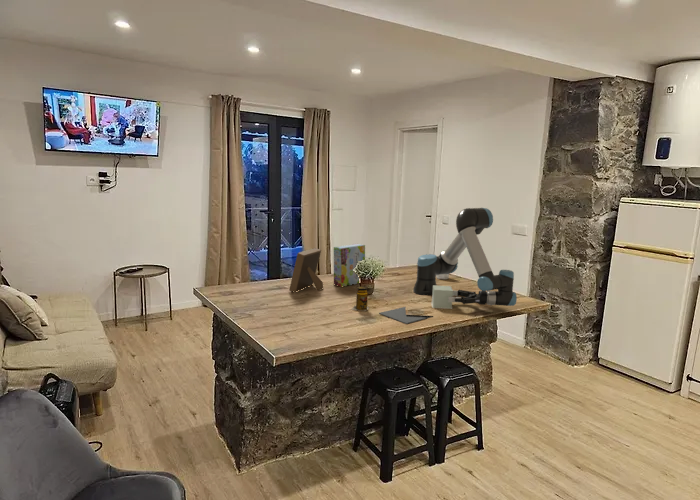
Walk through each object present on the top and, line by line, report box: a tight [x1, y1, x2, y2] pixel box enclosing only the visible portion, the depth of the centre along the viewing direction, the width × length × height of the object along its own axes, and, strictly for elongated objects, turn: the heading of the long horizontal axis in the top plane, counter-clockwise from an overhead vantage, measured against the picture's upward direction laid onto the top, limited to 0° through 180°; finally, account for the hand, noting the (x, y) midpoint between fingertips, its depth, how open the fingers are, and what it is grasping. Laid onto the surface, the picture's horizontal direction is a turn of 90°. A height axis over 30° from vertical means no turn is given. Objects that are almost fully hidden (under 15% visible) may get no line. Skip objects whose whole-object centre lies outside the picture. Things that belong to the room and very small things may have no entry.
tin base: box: [430, 301, 454, 310], centre depth 257 cm, size 11×11×6 cm
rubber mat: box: [378, 306, 434, 325], centre depth 242 cm, size 20×20×1 cm
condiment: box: [350, 286, 370, 312], centre depth 252 cm, size 7×8×12 cm
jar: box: [436, 274, 450, 280], centre depth 329 cm, size 9×8×12 cm
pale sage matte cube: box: [431, 284, 454, 310], centre depth 256 cm, size 10×10×10 cm
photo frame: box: [288, 247, 324, 293], centre depth 287 cm, size 15×22×25 cm
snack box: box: [333, 243, 366, 288], centre depth 305 cm, size 22×9×26 cm, turn 133°
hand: (446, 295), depth 255 cm, fingers open, 13 cm apart
